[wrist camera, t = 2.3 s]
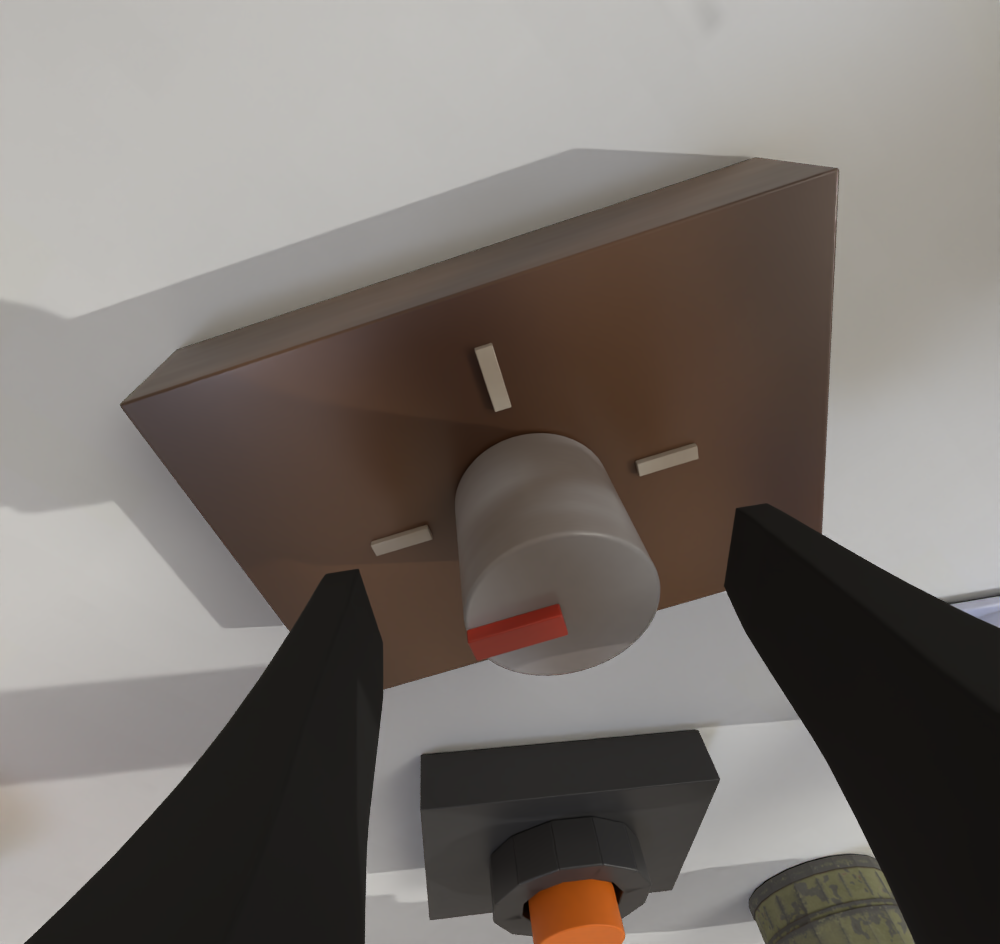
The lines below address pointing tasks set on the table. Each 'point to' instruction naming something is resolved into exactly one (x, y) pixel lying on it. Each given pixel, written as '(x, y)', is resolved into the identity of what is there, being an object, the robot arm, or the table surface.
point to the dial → (549, 559)
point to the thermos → (830, 905)
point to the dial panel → (521, 398)
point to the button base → (560, 821)
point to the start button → (576, 914)
